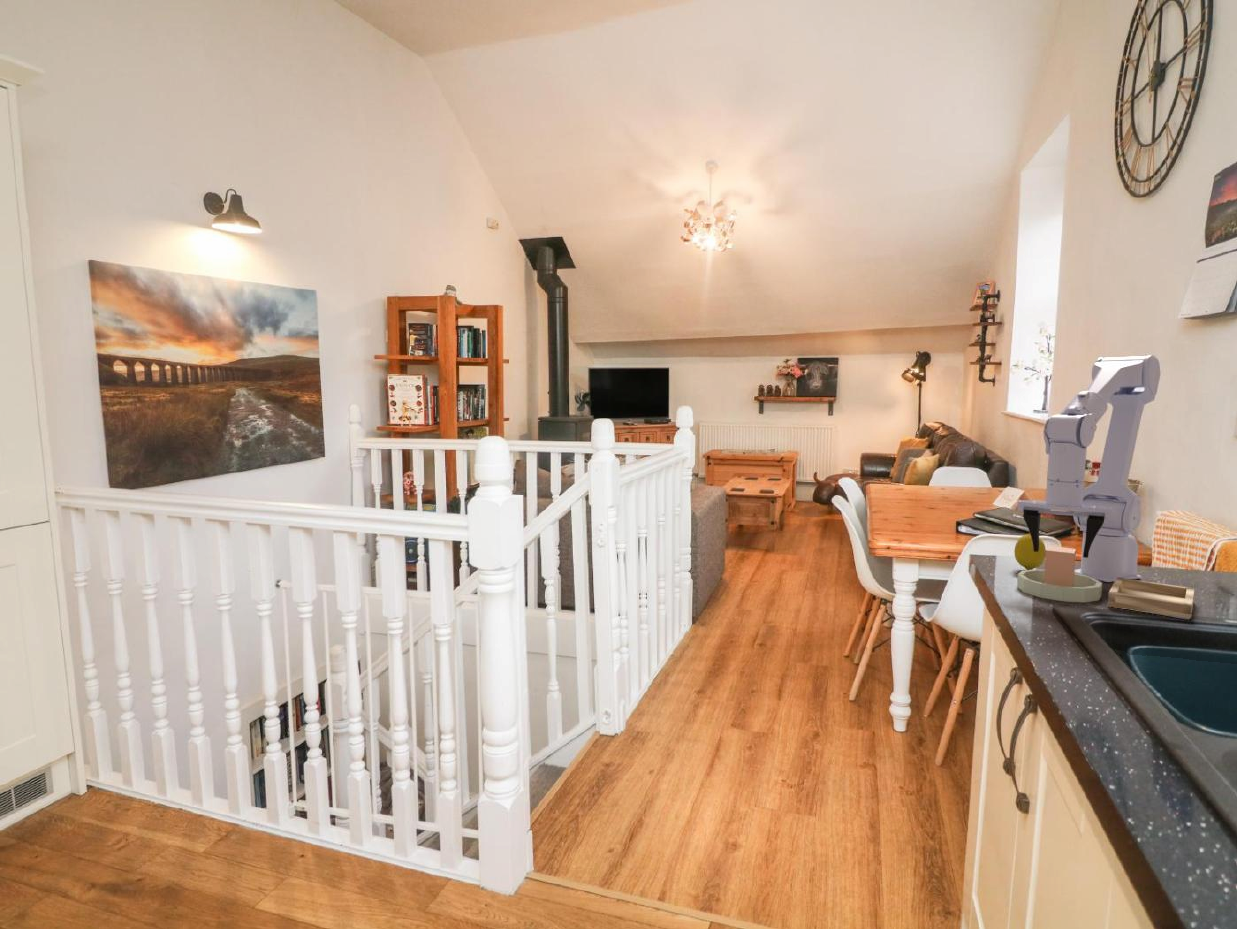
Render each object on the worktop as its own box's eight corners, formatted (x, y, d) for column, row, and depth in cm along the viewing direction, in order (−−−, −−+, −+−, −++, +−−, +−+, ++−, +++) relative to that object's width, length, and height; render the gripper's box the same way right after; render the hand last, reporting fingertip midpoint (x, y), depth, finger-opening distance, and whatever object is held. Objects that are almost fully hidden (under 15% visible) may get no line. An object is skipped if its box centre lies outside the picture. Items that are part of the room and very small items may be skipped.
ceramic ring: (1052, 579, 135) (1053, 567, 135) (1117, 597, 123) (1118, 584, 123) (1002, 585, 131) (1003, 572, 131) (1064, 605, 119) (1065, 591, 119)
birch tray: (1116, 590, 127) (1117, 577, 127) (1193, 602, 120) (1194, 588, 120) (1107, 606, 118) (1108, 592, 118) (1190, 620, 111) (1191, 605, 110)
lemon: (1016, 573, 140) (1018, 534, 139) (1011, 566, 145) (1013, 529, 144) (1047, 575, 138) (1050, 536, 137) (1041, 568, 143) (1043, 531, 142)
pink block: (1045, 587, 130) (1048, 545, 129) (1073, 591, 127) (1075, 549, 126) (1043, 592, 126) (1045, 550, 126) (1071, 596, 124) (1074, 553, 123)
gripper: (1016, 479, 126) (1012, 552, 127) (1114, 486, 117) (1108, 563, 119) (1021, 476, 131) (1017, 545, 133) (1114, 481, 123) (1109, 556, 124)
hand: (1060, 553), depth 126 cm, fingers open, 7 cm apart
